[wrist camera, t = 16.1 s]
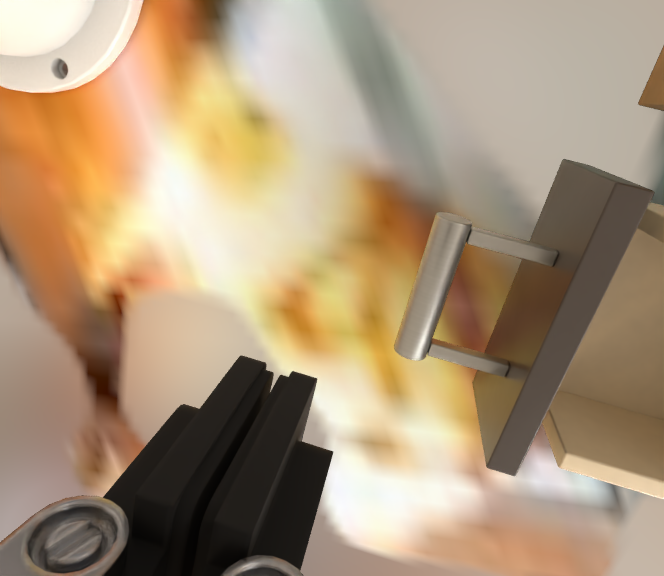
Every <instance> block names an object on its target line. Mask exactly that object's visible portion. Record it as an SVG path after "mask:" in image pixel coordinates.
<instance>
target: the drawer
mask: <svg viewBox="0 0 664 576" xmlns="http://www.w3.org/2000/svg"><path fill="white" fill-rule="evenodd" d="M653 195H654V191H652V190H650V189H647V188H645V187H642V186H640V185H637V184H635V183H632V182H630V181H627V180H625V179H622V178H620V177H617V176H615V175H612V174H609V173H607V172H605V171H602V170H600V169H597V168H595V167H592V166H589V165H586V164H582V163H578V162H574V161H570V160H566V159H563V160H562V162H561V165H560V167H559V170H558V172H557V175H556V177H555V180H554V182H553V185H552V187H551V190H550V192H549V194H548V197H547V199H546V202H545V204H544V207H543V209H542V212H541V214H540V217H539V219H538V222H537V224H536V227H535V229H534V232H533V234H532V236H531V239H530V241H529V242H528V241H525V240H521V239H517V238H513V237H510V236H506V235H502V234H498V233H495V232H491V231H487V230H483V229H480V228H476V227H472V222H471V221H470V220H468V219H466V218H464V217H461V216H459V215H455V214H451V213H446V212H438V213H437V214H436V216H435V219H434V222H433V225H432V228H431V231H430V235H429V238H428V241H427V244H426V247H425V250H424V253H423V257H422V260H421V263H420V266H419V269H418V272H417V275H416V278H415V282H414V285H413V288H412V291H411V294H410V297H409V300H408V304H407V307H406V310H405V313H404V316H403V319H402V322H401V326H400V329H399V332H398V335H397V338H396V341H395V344H394V349H395V351H396V352H397V353H398V354H399V355H401V356H403V357H405V358H407V359H410V360H423V359H424V358H425V357H426V355H427V352H428V355H429V356H432V357H435V358H438V359H442V360H445V361H449V362H452V363H456V364H459V365H463V366H466V367H470V368H473V369H476V370H477V372H476V375H475V377H474V380H473V382H472V383H473V389H474V395H475V401H476V407H477V413H478V419H479V425H480V431H481V437H482V443H483V449H484V455H485V461H486V467H487V468H489V469H493V470H496V471H499V472H502V473H506V474H509V475H512V476H516V474H517V472H518V470H519V468H520V466H521V464H522V462H523V460H524V458H525V456H526V454H527V452H528V450H529V448H530V446H531V444H532V442H533V440H534V438H535V436H536V433H537V431H538V429H539V427H540V425H541V423H543V426H544V429H545V432H546V434H547V437H548V440H549V443H550V445H551V448H552V451H553V454H554V456H555V459H556V462H557V465H558V467H559V468H561V469H565V470H568V471H571V472H575V473H578V474H581V475H585V476H588V477H591V478H595V479H598V480H601V481H605V482H608V483H611V484H614V485H618V486H621V487H624V488H628V489H631V490H634V491H638V492H641V493H644V494H648V495H651V496H654V497H658V498H661V499H664V206H663V205H659V204H656V203H652V202H650V201H651V199H652V197H653ZM466 242H467V244H469V245H472V246H476V247H480V248H484V249H487V250H491V251H495V252H498V253H502V254H506V255H510V256H513V257H517V258H521V259H522V261H521V264H520V266H519V269H518V271H517V273H516V276H515V278H514V281H513V283H512V286H511V288H510V291H509V293H508V296H507V298H506V301H505V303H504V306H503V308H502V311H501V313H500V315H499V318H498V320H497V323H496V325H495V328H494V330H493V333H492V335H491V338H490V340H489V343H488V345H487V348H486V350H485V352H484V353H482V352H479V351H475V350H472V349H468V348H465V347H461V346H458V345H454V344H451V343H447V342H444V341H440V340H437V339H433V335H434V332H435V329H436V326H437V323H438V321H439V318H440V315H441V312H442V309H443V306H444V303H445V301H446V298H447V295H448V292H449V289H450V286H451V284H452V281H453V278H454V275H455V272H456V269H457V267H458V264H459V261H460V258H461V255H462V252H463V249H464V247H465V244H466Z"/></svg>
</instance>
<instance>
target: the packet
mask: <svg viewBox="0 0 664 576" xmlns="http://www.w3.org/2000/svg"><path fill="white" fill-rule="evenodd" d="M638 104H639V105H642V106H645V107H649V108H654V109H658V110H662V111H664V46H663V48H662V51H661V53H660V55H659V57H658V60H657V62H656V64H655V66H654V69H653V71H652V73H651V75H650V78H649V80H648V82H647V84H646V87H645V89H644V91H643V94H642V96H641V98H640V100H639V102H638Z"/></svg>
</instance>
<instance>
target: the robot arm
mask: <svg viewBox="0 0 664 576" xmlns="http://www.w3.org/2000/svg"><path fill="white" fill-rule="evenodd" d="M142 4H143V0H0V86H2V87H5V88H7V89H12V90H18V91H25V92H31V93H54V92H59V91H64V90H69V89H74V88H76V87H79V86H81V85H83V84H85V83H87V82H89V81H91V80H93V79H95V78H96V77H97V76H98V75H100V74H101V73H102V72H103V71H105V70H106V69H107V68H108V67H110V66H111V65H112V63H113V62H114V61H115V59H116V58H117V57H118V56H119V54H120V53H121V52H122V51H123V49H124V48H125V47H126V45H127V43H128V41H129V39H130V37H131V34H132V32H133V30H134V28H135V26H136V24H137V21H138V18H139V14H140V11H141V7H142ZM272 381H273V372H270V371H267V370H266V363H265V362H261V361H258V360H255V359H252V358H248V357H245V356H240V357H239V358H238V359H237V360H236V362H235V363H234V364H233V366H232V367H231V368H230V370H229V371H228V372H227V374H226V375H225V376H224V377H223V379H222V380H221V381H220V383H219V384H218V385H217V387H216V388H215V389H214V391H213V392H212V393H211V395H210V396H209V397H208V399H207V400H206V401H205V403H204V404H203V405H202V406H201V408H200V409H198V408H195V407H192V406H189V405H185V404H183V405H180V406H179V408H177V409H176V411H175V412H174V413H173V414H172V415H171V416H170V418H169V419H168V420H167V421H166V422H165V424H164V425H163V426H162V427H161V428H160V430H159V431H158V432H157V433H156V434H155V436H154V437H153V438H152V439H151V440H150V442H149V443H148V444H147V445H146V446H145V448H144V449H143V450H142V451H141V452H140V454H139V455H138V456H137V457H136V458H135V460H134V461H133V462H132V463H131V464H130V466H129V467H128V468H127V469H126V470H125V472H124V473H123V474H122V475H121V476H120V478H119V479H118V480H117V481H116V482H115V484H114V485H113V486H112V487H111V488H110V490H109V491H108V492H107V493H106V494H105V496H104V497H103V498H102V497H99V496H84V495H82V496H76V497H70V498H65V499H62V500H60V501H57V502H54V503H52V504H49V505H48V506H46V507H45V508H43V509H42V510H40V511H39V512H37V513H35V514H34V515H33V516H32V517H30V518H29V519H28V520H27V521H25V522H24V523H23V524H22V525H21V526H20V527H18V528H17V529H16V530H14V531H13V532H12V533H11V534H10V535H8V536H7V537H6V538H5V539H4V540H2V541H1V542H0V576H303V574H302V573H301V572H300V570H301V566H302V562H303V559H304V555H305V552H306V548H307V545H308V541H309V537H310V534H311V530H312V527H313V523H314V520H315V516H316V512H317V509H318V505H319V502H320V498H321V495H322V491H323V487H324V484H325V480H326V477H327V473H328V469H329V466H330V462H331V459H332V455H333V451H330V450H327V449H323V448H320V447H317V446H314V445H311V444H308V443H305V442H302V438H303V434H304V430H305V426H306V422H307V418H308V414H309V410H310V407H311V403H312V399H313V395H314V391H315V387H316V383H317V378H314V377H310V376H307V375H304V374H301V373H297V372H294V371H292V372H291V374H290V376H289V377H287V376H283V375H280V376H279V378H278V380H277V381H276V383H275V385H274V387H273V389H272V390H271V392H270V389H271V385H272Z"/></svg>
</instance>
